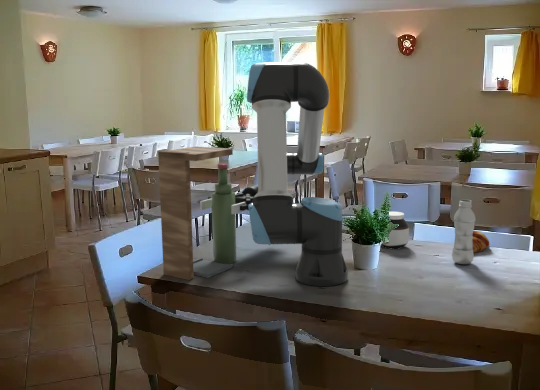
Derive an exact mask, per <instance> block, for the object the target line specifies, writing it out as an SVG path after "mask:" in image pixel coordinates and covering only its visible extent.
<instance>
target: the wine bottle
mask: <svg viewBox="0 0 540 390" xmlns="http://www.w3.org/2000/svg"><path fill="white" fill-rule="evenodd" d="M228 168H229V164H228V163H218V164H217V169H218V170H217V171H218V175H217V176H218V182H216V183H215V184H214V191H213V192H211V197H212V208H211V213H212V214H211V216H212V217H211V218H212V219H211V220H212V224H211V225H212V251H213V252H212V253H213V257H212V259H213V262H216V263H222V264H227V265H228V264H233V263H236V262H237V258H238V257H237V232H236V231H237V219H236V218H237V217H236V216H237V215H236V214H237V213H236V214H232V210H231V205H234V204H235V194H236V192H235V191H232V190H233V189H232V188H233V187H232V182H228V180H229V179H228Z"/></svg>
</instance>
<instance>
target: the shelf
mask: <svg viewBox="0 0 540 390" xmlns="http://www.w3.org/2000/svg"><path fill="white" fill-rule="evenodd" d="M233 152H234V151H233V148H228V147H227V148H226V147H225V148H224V147H213V146H212V147H209V146H192V147H191V146H190V147H185V148H177V149H170V150H169V149H168V150H158V152H157V153H158V154H157V155H158V157H157V159H158V177H159V179H158V180H159V181H158V182H159V197H160V198H159V199H160V200H159V202H160V221H161V223H160V224H161V226H160V227H161V246H162V264H163V265H162V266H163V267H162V270H163V275H165V276H170V277H173V278H179V279H183V280H187V281H188V280H189V281H190V280H192V279H195V277H194V276H195V275H194V272H193V260H194V253H193V251H194V250H193V249H194V246H193V224H192V223H193V221H192V220H193V219H192V215H193V214H192V197H191V196H192V195H191V192H192V191H191V190H192V189H191V168H190V167H191V166H190V165H191V162H190V161H193V162H197V161H198V162H200V161H205V160H209V159H210V160H211V159H215V158H222V157H227V156H233V155H234V153H233Z"/></svg>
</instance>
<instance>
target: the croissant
mask: <svg viewBox="0 0 540 390" xmlns="http://www.w3.org/2000/svg"><path fill="white" fill-rule="evenodd" d="M472 236H473V238H472V243H473V254H475V253H479V252H482V251H484V250H486V249H487V248H488V247H489V246H490V241H489V239H488V237H487V236H486V234H484V233H482V232H480V231H477V230H475V229H473V235H472Z"/></svg>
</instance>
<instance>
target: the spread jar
mask: <svg viewBox="0 0 540 390" xmlns="http://www.w3.org/2000/svg"><path fill="white" fill-rule="evenodd" d="M388 212H389V217H390V220H391V222H392V223H393V224H399V226H398V227H397V228H395V229H393V230H392V231H391V232H390V234H389V239H390V241H389V242H386V243H382V244H380V245H381V246H382V247H384V248H385V247H386V248H385V249H389V248H392V249H391V250H399V249H398V248H400V249H402V248H404V247H406V245H408V244H409V239H410V227H409V223H408V222H407V221H406V219H405V213H404V212H401V211H388Z"/></svg>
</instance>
